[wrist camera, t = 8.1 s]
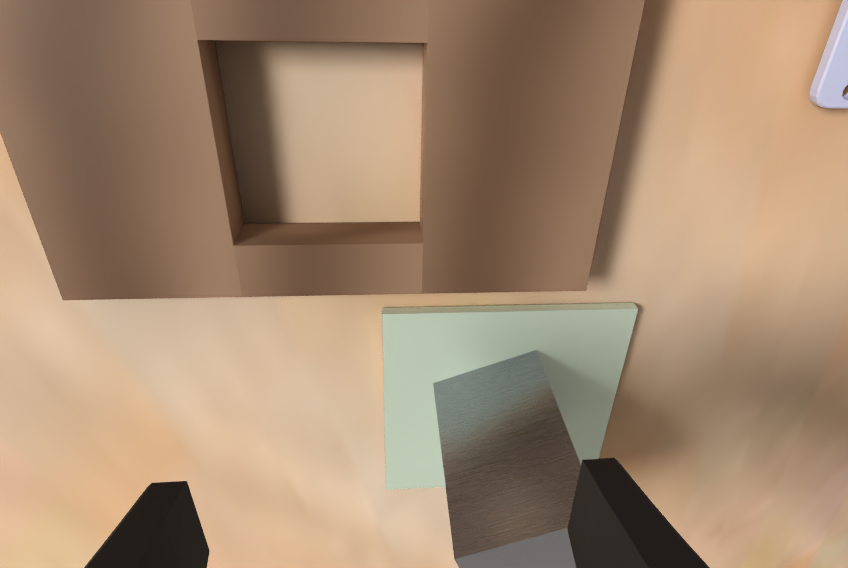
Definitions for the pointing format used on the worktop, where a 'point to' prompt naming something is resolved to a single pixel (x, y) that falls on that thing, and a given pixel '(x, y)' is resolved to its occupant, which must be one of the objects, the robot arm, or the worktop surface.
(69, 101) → the walnut rail
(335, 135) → the worktop surface
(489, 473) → the steel block
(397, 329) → the green pad
